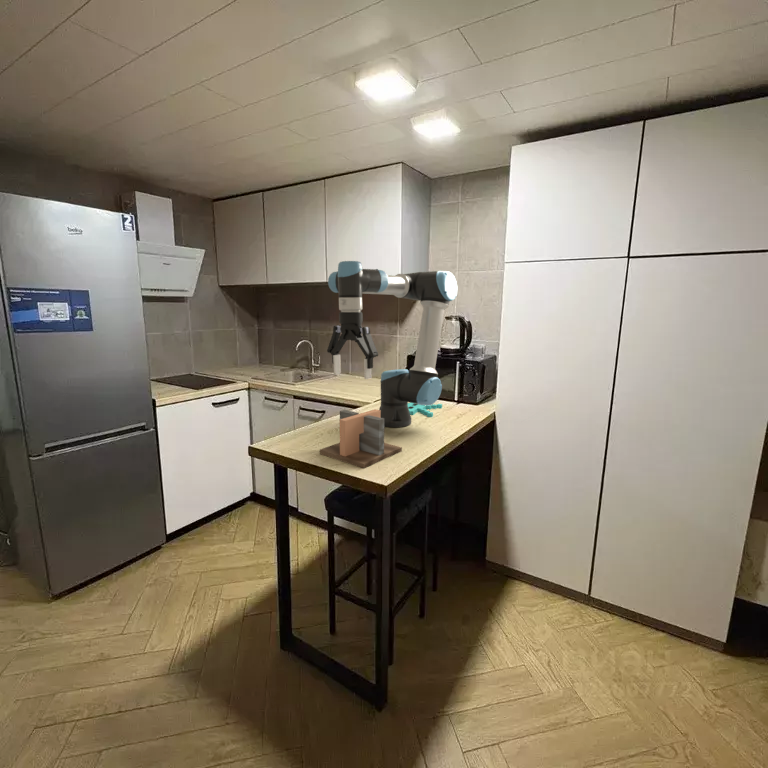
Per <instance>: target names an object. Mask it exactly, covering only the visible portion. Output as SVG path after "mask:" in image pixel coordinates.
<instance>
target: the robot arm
mask: <svg viewBox="0 0 768 768" xmlns="http://www.w3.org/2000/svg"><path fill="white" fill-rule="evenodd" d="M327 281H328V282H327V284H328V287H329V289H330V291H331V292H333V293H336V294H337V293H338V310H339V311H340V312H339V313H338V320H339V322H338V323H340V325H333V327H332V328H333V332H332V334H331V335H332V336H331V338H330V340H329V344H328V347H327V350H326V352H327V353H328V354H331V360H332V361H331V362H332V365H333V375H340V374H342V365H341V363H342V362H341V357H342V356H341V350H342V349H343V346H344V345H345V343H346V342H347V341H352V342H355V343H357V345H358V347H359V349H360V350H361V351H362V353H363V355H364V359H363V367H364V370H363V372H364V373H363V375H364V380H368V379H372V375H373V373H372V370H373V369H374V358H376V357H378V356H379V352H378V350H377V347H376V344H375V343H374V339H373V337H372V335H371V328H370V326H364V327H363V326H362V325H363V320H364V318H363V312H362V310H363V294H364V295H365V294H366V295H367V294H368V295H369V294H370V295H388V296H389V295H391V296H394V297H396V298H397V299H398V298H401V299H408V300H412V301H419V303H420V305H421V306H422V313H421V319H420V326H419V331H418V339H417V345H416V349H415V356H414V357H415V358H414V363H413V366H412V367H410V368H409V370H408V369H407V368H406V369H404V368H400V369H399V368H398V369H389V370H385V371H382V372H381V374H380V375H381V376H380V382H379V383H380V406H379V409H378V410H381V418H384V428H385V427H386V428H403V427H404V428H405V427H407V426H410V425H411V424H412V415H410V412H409V408H408V403H415V404H419V405H425V406H426V405H432V404H435V403H436V402H437V401H438V400H439V398H440V396H441V393H442V389H443V388H442V387H443V385H442V381H441V379H440V378H439V377H438V375H439V373H438V371H437V370H436V366H437V365H436V364H437V359H438V353H439V345H440V339H441V334H442V328H443V327H442V326H443V321H444V316H445V314H444V313H445V311H446V310H447V309H448V308H449V307H450V302H452V301H454V300H455V299H456V298H457V296H458V284H457V280H456V277H455V275H454V274H453V273H452V272H450V271H447V270H435V271H434V270H433V271H418V272H410V273H397V274H395V275H392V274H391V275H389V274H387V272H385V270H381V269H378V268H376V269H374V268H363V267H362V262H361V261H358V260H344V261H342V260H341V261H340V262H339V263H338V264H337V271H332V272H331V273H330V274H329V277H328V279H327Z"/></svg>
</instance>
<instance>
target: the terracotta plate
mask: <svg viewBox="0 0 768 768" xmlns="http://www.w3.org/2000/svg"><path fill="white" fill-rule="evenodd" d="M368 415H370V416H375V417H379V418H381V410H379V409H376V408H374V409H370V410H368V411H365V412H362V413H359V414H357V415H354V416H350V417H347V418H343V419H340V418H339V443H340V455H342V456H345V457H346V456H348V455H351V454H353V453H356V452H358V451H359V434H361V433H364V416H368Z"/></svg>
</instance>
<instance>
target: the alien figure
mask: <svg viewBox="0 0 768 768" xmlns="http://www.w3.org/2000/svg"><path fill="white" fill-rule="evenodd" d="M408 408H409V412H410V416H414V415H415V414H416V413H420V415H421V414H423V416H426V417H427V418H433V416H434V412H431V411H430V410H431V409H432V410H436V409H440V410H441V409H442V408H443V403H437V404H435V403H434V404H432V405H419V404H415V403H410V402H408ZM428 409H429V410H428Z"/></svg>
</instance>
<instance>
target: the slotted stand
mask: <svg viewBox="0 0 768 768" xmlns="http://www.w3.org/2000/svg"><path fill="white" fill-rule="evenodd" d="M357 414H360V413H359V412H357V411H352V410H347V409H342V410H339V420H340V419H343V418H347V417H350V416H354V415H357ZM401 452H403V447H402V446H399V445H395V444H392V443H391V444H390V443H387V442H385V426H384V418H379V417H375V416H370V415H368V416H364V433H361V434H359V451H358V452H356V453H353V454H351V455H348V456H346V457H345V456H342V455H340V442H338V443H335V444H332V445H329V446H327V447H323V448H320V449H319V454H320V455H321V456H324V457H328V458H331V459H334V460H338V461H341V462H343V463H346V464H349V465H352V466H355V467H359V468H362V469H365V468H368V467H371V466H373V465H375V464H378V463H379V462H381V461H383V460H386V459H388V458H391V457H393V456H395V455H397V454H399V453H401Z"/></svg>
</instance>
